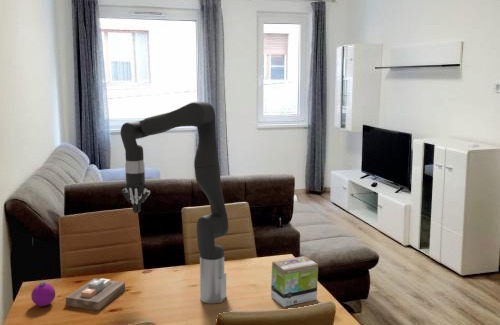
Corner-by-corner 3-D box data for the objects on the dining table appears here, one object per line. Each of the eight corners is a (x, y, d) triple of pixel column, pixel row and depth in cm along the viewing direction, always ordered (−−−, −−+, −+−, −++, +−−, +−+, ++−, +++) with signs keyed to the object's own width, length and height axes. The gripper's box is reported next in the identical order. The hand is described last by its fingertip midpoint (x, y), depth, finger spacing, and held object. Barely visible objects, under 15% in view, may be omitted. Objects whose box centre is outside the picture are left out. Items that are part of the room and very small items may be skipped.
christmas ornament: (34, 301, 178) (32, 276, 176) (57, 298, 180) (55, 274, 178) (30, 311, 170) (28, 285, 168) (54, 308, 172) (52, 282, 170)
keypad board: (125, 289, 188) (124, 282, 187) (98, 310, 171) (98, 302, 170) (94, 285, 192) (94, 278, 191) (66, 305, 174) (65, 297, 174)
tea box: (284, 308, 173) (284, 270, 170) (270, 297, 182) (270, 261, 179) (317, 300, 180) (318, 263, 177) (303, 289, 188) (303, 254, 186)
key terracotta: (97, 296, 178) (96, 288, 177) (90, 301, 174) (90, 293, 174) (88, 295, 179) (87, 287, 178) (81, 300, 175) (81, 291, 175)
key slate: (103, 288, 182) (103, 280, 181) (97, 292, 178) (97, 284, 178) (94, 287, 183) (94, 279, 182) (88, 291, 179) (88, 283, 179)
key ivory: (110, 287, 186) (110, 279, 186) (104, 291, 183) (104, 283, 182) (101, 285, 187) (101, 277, 187) (95, 290, 184) (95, 282, 183)
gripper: (154, 170, 192) (155, 211, 195) (125, 168, 196) (127, 208, 199) (145, 173, 185) (146, 216, 188) (115, 171, 189) (117, 213, 191)
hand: (136, 212), depth 193 cm, fingers closed
